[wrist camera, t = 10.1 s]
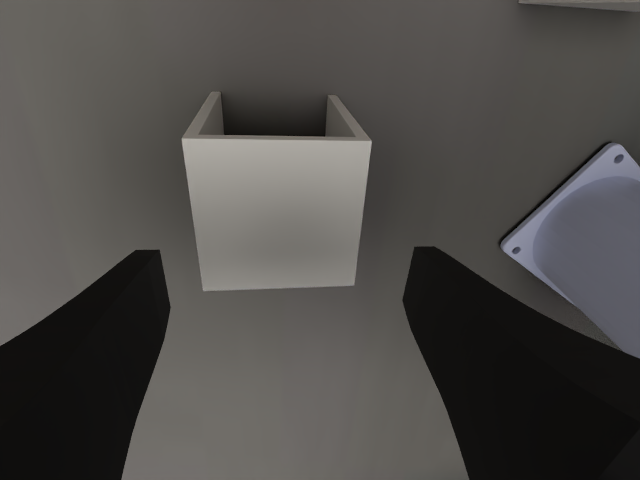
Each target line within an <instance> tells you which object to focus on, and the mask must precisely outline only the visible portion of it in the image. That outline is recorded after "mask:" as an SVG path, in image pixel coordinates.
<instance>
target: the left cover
mask: <svg viewBox="0 0 640 480" xmlns="http://www.w3.org/2000/svg"><path fill="white" fill-rule="evenodd" d="M371 144H372V141H371V139H370V138H369V137H368V136H367V134H366V133H365V132H364V130H363V129H362V128H361V126H360V125H359V124H358V123H357V121H356V120H355V119H354V117H353V116H352V115H351V114H350V112H349V111H348V110H347V108H346V107H345V106H344V104H343V103H342V102H341V101H340V99H339V98H338V97H337V95H328V98H327V115H326V132H325V137H319V136H253V135H224V126H223V114H222V101H221V92H215V91H211V93H210V94H209V96H208V98H207V99H206V101H205V102H204V104H203V105H202V107H201V109H200V110H199V112H198V113H197V115H196V117H195V118H194V120H193V121H192V123H191V124H190V126H189V128H188V129H187V131H186V132H185V134H184V135H183V137H182V145H183V152H184V159H185V166H186V173H187V180H188V188H189V195H190V202H191V209H192V216H193V223H194V230H195V237H196V244H197V251H198V258H199V265H200V272H201V279H202V286H203V291H220V290H248V289H276V288H304V287H331V286H354V282H355V274H356V266H357V258H358V249H359V241H360V233H361V225H362V217H363V209H364V201H365V193H366V184H367V176H368V168H369V160H370V152H371Z"/></svg>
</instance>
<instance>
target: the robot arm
mask: <svg viewBox="0 0 640 480" xmlns="http://www.w3.org/2000/svg"><path fill="white" fill-rule="evenodd" d="M616 156H618V157H617V158H616V159H615V157H616ZM614 159H615V160H614ZM500 246H501V249H502V250H503V251H504V252H505V253H506V254H508V255H509V256H510V257H512V258H513V259H514V260H516V261H517V262H518V263H520V264H521V265H522V266H523V267H525V268H526V269H527V270H529V271H530V272H531V273H533V274H534V275H535V276H537V277H538V278H539V279H541V280H542V281H543V282H545V283H546V284H547V285H548V286H550V287H551V288H552V289H554V290H555V291H556V292H558V293H559V294H560V295H562V296H563V297H564V298H566V299H567V300H568V301H570V302H571V303H572V304H573V305H575V306H576V307H577V308H579V309H580V310H581V311H582V312H583V313H584V314H585V315H586V316H587V317H588V318H589V319H590V320H591V321H592V322H593V323H594V324H595V325H596V326H598V327H599V328H600V329H601V330H602V331H603V332H604V333H605V334H606V335H607V336H608V337H609V338H610V339H611V340H612V341H613V342H614V343H615V344H616V345H617V346H618V347H619V348H620V349H621V350H622V351H623V352H622V351H620V350H617V349H615V348H612V347H610V346H608V345H606V344H603V343H601V342H599V341H596V340H594V339H592V338H590V337H587V336H585V335H583V334H581V333H579V332H576V331H574V330H572V329H570V328H568V327H566V326H564V325H562V324H560V323H558V322H556V321H554V320H552V319H550V318H549V317H547V316H545V315H543V314H541V313H539V312H537V311H535V310H534V309H532V308H530V307H528V306H527V305H525V304H523V303H522V302H520V301H518V300H517V299H515V298H513V297H512V296H510V295H508V294H507V293H505V292H503V291H502V290H500V289H499V288H497V287H496V286H494V285H492V284H491V283H489V282H488V281H486V280H485V279H483V278H482V277H480V276H479V275H477V274H476V273H474V272H473V271H471V270H470V269H469V268H467V267H466V266H464V265H463V264H461V263H460V262H458V261H457V260H455V259H454V258H452V257H451V256H449V255H448V254H446V253H445V252H443V251H441V250H440V249H438V248H436V247H434V246H433V247H414V251H413V256H412V260H411V265H410V269H409V274H408V278H407V282H406V287H405V291H404V296H403V304H404V308H405V311H406V315H407V318H408V321H409V325H410V328H411V331H412V333H413V335H414V338H415V340H416V342H417V344H418V347H419V349H420V351H421V353H422V355H423V358H424V360H425V362H426V364H427V366H428V368H429V371H430V373H431V375H432V377H433V379H434V382H435V384H436V386H437V388H438V390H439V392H440V395H441V397H442V399H443V402H444V404H445V407H446V409H447V412H448V415H449V418H450V421H451V424H452V427H453V430H454V432H455V435H456V438H457V441H458V444H459V447H460V451H461V454H462V457H463V460H464V464H465V467H466V470H467V473H468V476H469V480H640V167H639V166H638V164H637V163H636V162H635V161H634V160H633V158H632V157H631V156H630V155H629V154H628V152H627V151H626V150H625V149H624V148H623V146H621V145H620V144H617V143H609V144H608V145H606V146H605V147H604V148H603V149H602V150H600V151H599V152H598V153H597V154H596V155H595V156H594V157H593V158H592V159H591V160H590V161H589V162H587V163H586V164H585V165H584V166H583V167H582V168H581V169H580V170H579V171H578V172H577V173H575V174H574V175H573V176H572V177H571V178H570V179H569V180H568V181H567V182H566V183H565V184H564V185H562V186H561V187H560V188H559V189H558V190H557V191H556V192H555V193H554V194H553V195H552V196H551V197H549V198H548V199H547V200H546V201H545V202H544V203H543V204H542V205H541V206H540V207H539V208H538V209H536V210H535V211H534V212H533V213H532V214H531V215H530V216H529V217H528V218H527V219H526V220H524V221H523V222H522V223H521V224H520V225H519V226H518V227H517V228H516V229H515V230H514V231H513V232H511V233H510V234H509V235H508V236H507V237H506V238H505V239H504V240H503V241H502V242H501V245H500ZM515 247H517V248H516V249H515V250H513V249H514V248H515ZM170 308H171V307H170V302H169V297H168V291H167V286H166V281H165V275H164V270H163V265H162V260H161V254H160V250H135V251H134V252H132V253H131V254H130V255H128V256H127V257H126V258H124V259H123V260H122V261H121V262H119V263H118V264H117V265H116V266H114V267H113V268H112V269H111V270H109V271H108V272H107V273H106V274H104V275H103V276H102V277H100V278H99V279H98V280H97V281H95V282H94V283H93V284H91V285H90V286H89V287H88V288H86V289H85V290H84V291H82V292H81V293H80V294H78V295H77V296H76V297H74V298H73V299H71V300H70V301H69V302H67V303H66V304H64V305H63V306H62V307H60V308H59V309H57V310H56V311H54V312H53V313H52V314H50V315H49V316H47V317H46V318H45V319H43V320H42V321H40V322H39V323H37V324H36V325H34V326H32V327H31V328H29V329H28V330H26V331H25V332H23V333H21V334H20V335H18V336H16V337H15V338H13V339H11V340H10V341H8V342H6V343H5V344H3V345H1V346H0V480H121V478H122V473H123V469H124V465H125V461H126V457H127V453H128V448H129V444H130V440H131V436H132V432H133V429H134V426H135V422H136V419H137V416H138V413H139V410H140V407H141V405H142V402H143V399H144V396H145V393H146V390H147V388H148V385H149V382H150V379H151V376H152V373H153V371H154V368H155V365H156V362H157V359H158V356H159V353H160V350H161V347H162V344H163V341H164V338H165V333H166V328H167V324H168V318H169V313H170Z"/></svg>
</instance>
